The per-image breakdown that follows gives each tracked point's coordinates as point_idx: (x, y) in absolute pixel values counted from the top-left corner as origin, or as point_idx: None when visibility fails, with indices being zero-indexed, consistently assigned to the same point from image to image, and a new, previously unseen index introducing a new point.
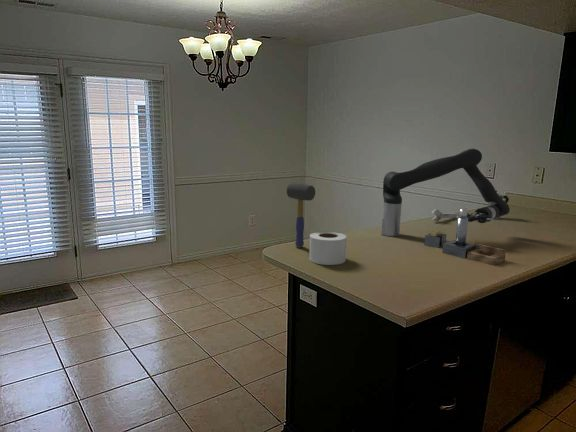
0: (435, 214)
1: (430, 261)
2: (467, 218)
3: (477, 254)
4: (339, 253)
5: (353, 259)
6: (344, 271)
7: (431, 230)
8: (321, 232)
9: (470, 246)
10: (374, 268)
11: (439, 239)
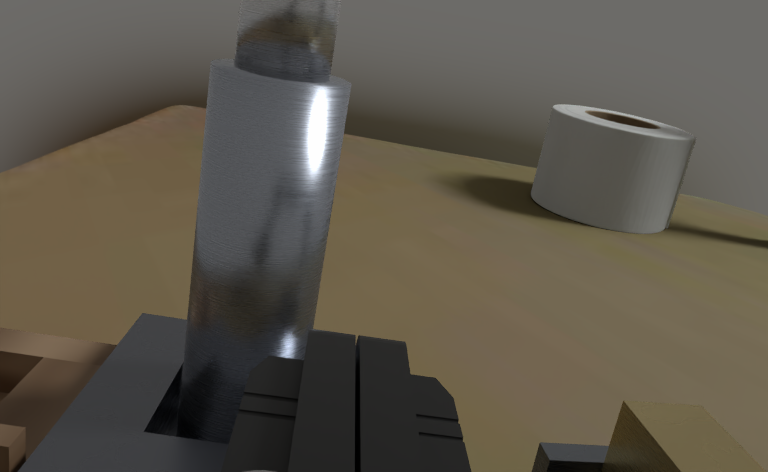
0: None
1: (323, 287)
2: (222, 65)
3: (22, 331)
4: (540, 157)
5: (558, 226)
6: (464, 177)
7: (690, 406)
8: (679, 131)
9: (113, 374)
10: (430, 199)
11: (535, 465)
